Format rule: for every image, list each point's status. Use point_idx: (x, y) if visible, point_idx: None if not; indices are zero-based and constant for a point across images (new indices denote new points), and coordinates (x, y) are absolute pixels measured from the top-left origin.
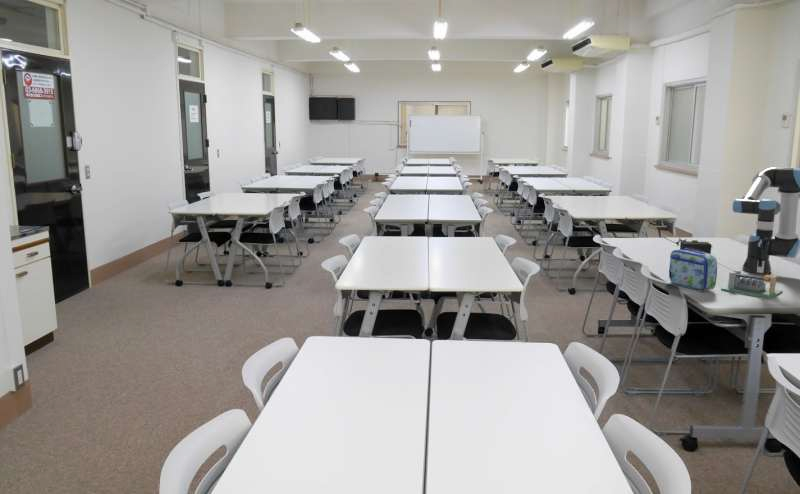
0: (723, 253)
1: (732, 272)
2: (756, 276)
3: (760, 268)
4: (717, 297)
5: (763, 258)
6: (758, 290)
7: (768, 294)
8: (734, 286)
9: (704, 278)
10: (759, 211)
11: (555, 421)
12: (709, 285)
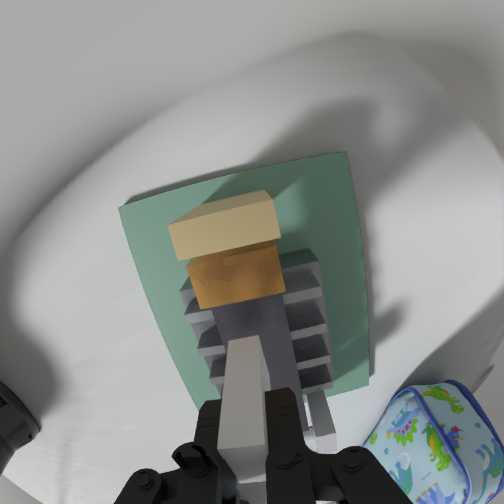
0: (16, 464)
1: (327, 446)
2: None
3: (266, 382)
4: (475, 309)
5: (274, 484)
6: (313, 254)
7: (287, 196)
8: None
9: (478, 406)
10: None
11: None
12: (445, 388)
